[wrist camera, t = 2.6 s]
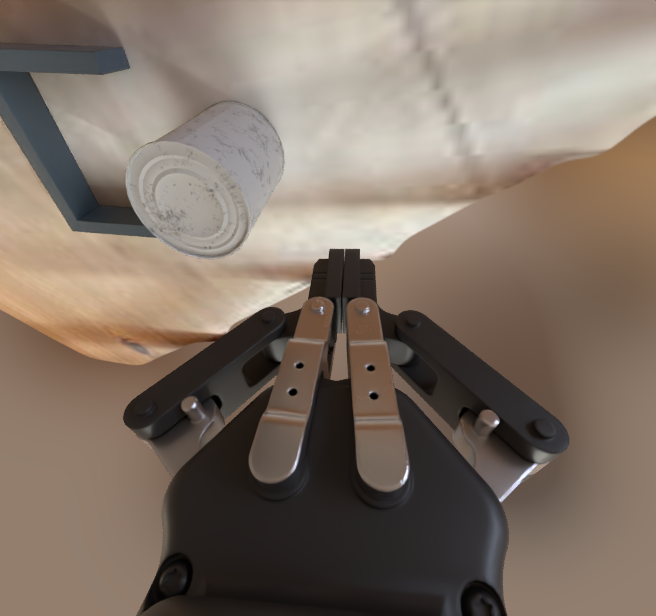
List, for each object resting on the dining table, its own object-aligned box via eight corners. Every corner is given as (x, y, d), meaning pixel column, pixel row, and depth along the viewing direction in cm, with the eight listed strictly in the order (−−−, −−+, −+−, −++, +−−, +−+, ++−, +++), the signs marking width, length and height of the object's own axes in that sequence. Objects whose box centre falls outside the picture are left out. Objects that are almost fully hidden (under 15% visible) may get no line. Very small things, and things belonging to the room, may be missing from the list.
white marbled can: (186, 92, 29) (105, 128, 20) (286, 111, 29) (247, 155, 21) (201, 190, 36) (144, 248, 27) (282, 205, 36) (252, 268, 27)
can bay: (123, 47, 27) (93, 51, 25) (182, 222, 39) (167, 238, 36) (-1, 43, 28) (-44, 47, 25) (94, 215, 40) (72, 231, 37)
